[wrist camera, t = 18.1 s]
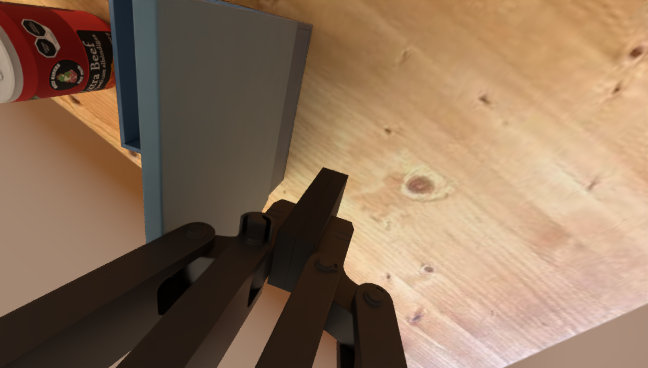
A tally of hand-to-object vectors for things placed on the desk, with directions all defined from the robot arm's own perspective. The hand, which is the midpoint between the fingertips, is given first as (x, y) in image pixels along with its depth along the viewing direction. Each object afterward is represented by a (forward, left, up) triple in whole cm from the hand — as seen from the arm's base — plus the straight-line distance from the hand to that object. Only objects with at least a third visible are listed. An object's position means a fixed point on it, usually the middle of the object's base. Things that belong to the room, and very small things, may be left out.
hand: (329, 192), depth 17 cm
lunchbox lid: (-4, -5, 0) cm, 6 cm away
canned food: (-20, -24, -14) cm, 34 cm away
